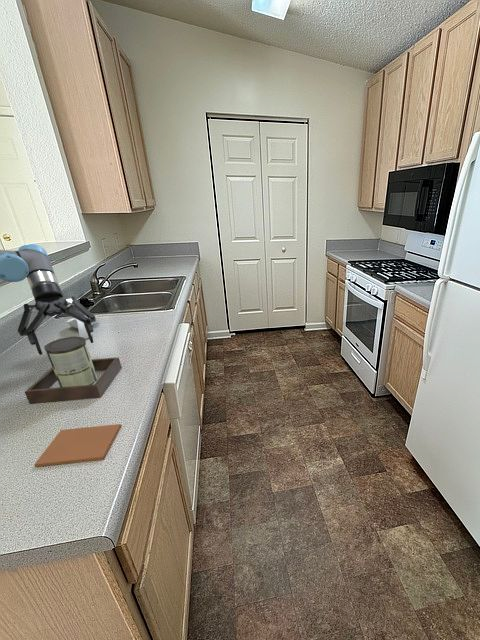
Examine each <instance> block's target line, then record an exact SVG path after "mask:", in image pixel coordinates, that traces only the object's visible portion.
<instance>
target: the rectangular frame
mask: <svg viewBox="0 0 480 640" xmlns="http://www.w3.org/2000/svg"><path fill="white" fill-rule="evenodd" d="M91 360H92V363H93V366H94V369H95V372H101V371H104V372H103V373H102V374H101V375H100V377H98V381H97V382H96V383H95V384H94V385H82V386H70V387H60V386H59V387H52V386H53V385H54V384H55V383H56V382H58V380H57V377H56V375H55V372H54V370H53V367H52V366H51V367H50V368H49V369H48V370H47V371H46V372H45V373H44V374H43V375H41V376H40V377H39V378H38V379H37V380H36V381H35V382H34V383H32V385H30V386H29V387H28V388H27V389H26V390H25V391H24V395H25V396H26V398H27V401H28V403H29V404H30V405H32V404H42V403H43V404H44V403H45V404H46V403H54V402H55V403H56V402H65V401H76V400H88V399H100V398H102V396H103V395H104V394H105V393H106V391H107V389H108V388H109V386H110V385H111V383H113V381H114V379H115V378H116V377H117V376H118V374H119V373H120V371H121V370H122V367H123V366H122V364H121V360H120V357H119V356H118V357H105V358H94V359H93V358H91Z"/></svg>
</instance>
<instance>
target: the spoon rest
mask: <svg viewBox="0 0 480 640" xmlns="http://www.w3.org/2000/svg"><path fill="white" fill-rule="evenodd" d="M84 316H85V315H84ZM85 317H86V316H85ZM87 318H88V317H87ZM95 318H96V321H95V322H92V323H91V324H92V326H94V325H95V323H96V322H97V319H98V316H97V315H95ZM66 323H67V324H68V325H69V326H70V327H72V328H75V329H77V331H78V337H83V338H85V340H86V339H89V337H88V334H87V331H86V329H85V326H84V323H83V322H81V321H79V320H78V319H76V318H74V317H72V318H69V319H68V320H67V321H66ZM91 335H92V338H93V337H94V335H93V332H91Z"/></svg>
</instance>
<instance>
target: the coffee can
mask: <svg viewBox="0 0 480 640" xmlns="http://www.w3.org/2000/svg"><path fill="white" fill-rule="evenodd" d="M43 348H44V351H45V353H46V355H47V357H48V360H49V362H50V365H51V368H52V367H53V370H54V372H55V375H56V377H57V382H58V385H59V387H70V386H82V385H94V384H95V383H96V382H97V381H98V379H99V377H98V374H97V371H95V369H94V366H93V363H92V360H91V359H92V357H91V354H90V351H89V348H88V344H87V340H86V339H85V338H83V337H79V336H67V337H63V338H57V339H54V340H51V341H50V342H49V343H47V344H45V345H44V347H43Z"/></svg>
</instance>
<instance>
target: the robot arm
mask: <svg viewBox="0 0 480 640" xmlns="http://www.w3.org/2000/svg"><path fill="white" fill-rule="evenodd" d="M26 279H27V282H28V285H29V288H30V290H31V294H32V297H33V300H34V304H29V303H23V313H22V316H21V318H20V322H19V324H18V327H17V333H18V334H19V336H20V337H24V336H27V339H28V341H29V343H30V345H31V346H34V345H35V348H36V351H37V352H38V355H39V356H41V355H43V351H42V348H41V345H40V342H39V339H38V337H37V333H36V331H37V330H38V328H39V327H40V326H41V324H42V323H43V321H44V320H46V318H47V317H54V316H60V315H62V314H65V315H66V316H70V317H72V318H76V319H78V320H79V321H81V322H83V323H84V326H85V329H86V331H87V334H88V337H89V338H88V339H89V342H90V344H93V343H94V338H93V337H92V335H93V334H92V335H91V333H94V326H93V325H92V324H91V323H92V322H95V321H96V322H97V320H96V318H95V316H96V315H95V314H94V313H92V312H91V311H90V310H89V309H88V308H86V306H84V305H83V304H82V303H80V302H79V301H78V299H77V298H76V296H74V295H72V296H71V297H70V298H68V299H66V298H65V297H64V294H63V292H62V289H61V287H60V285H59V281H58V278H57V276H56V273H55V271H54V268H53V265H52V262H51V259H50V257H49V254H48V253H47V250H46V249H45V248H44V247H42V246H41V245H39V244H34V243H29V244H23V245H21V246H20V247H18V249H17V250H9V249H0V280H2V281H5V282H9V283H18V282H22V281H23V280H26ZM68 304H69V305H71V306H73V307H75V308H76V309H77V310H78V311H76V310H74V309H72V308H70V307H69V306H68ZM35 310H36V311H37V314H36V316H35V317H34V318H33V320H32V321H31V322H30V320H31V317H32V314H33V313H34V311H35ZM85 316H86V317H85ZM87 317H88V318H87ZM96 322H95V323H96ZM29 323H30V324H29Z"/></svg>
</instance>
